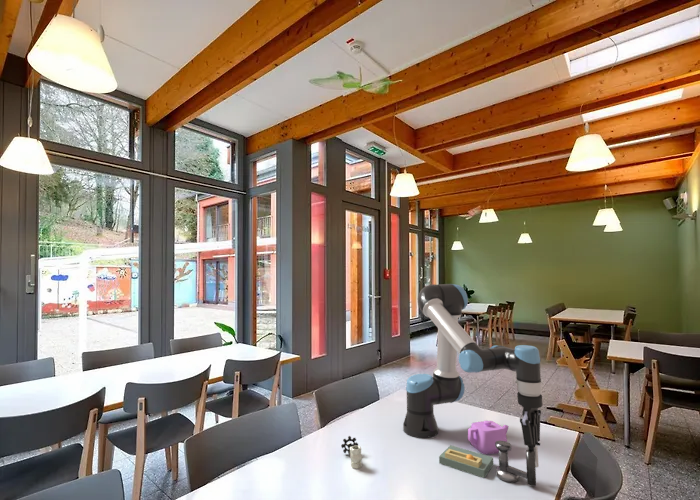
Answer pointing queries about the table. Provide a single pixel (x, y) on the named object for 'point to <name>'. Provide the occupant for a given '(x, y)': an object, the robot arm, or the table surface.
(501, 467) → the cam capstan
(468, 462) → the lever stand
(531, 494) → the table surface
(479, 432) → the teapot
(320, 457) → the table surface
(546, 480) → the table surface
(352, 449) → the valve
